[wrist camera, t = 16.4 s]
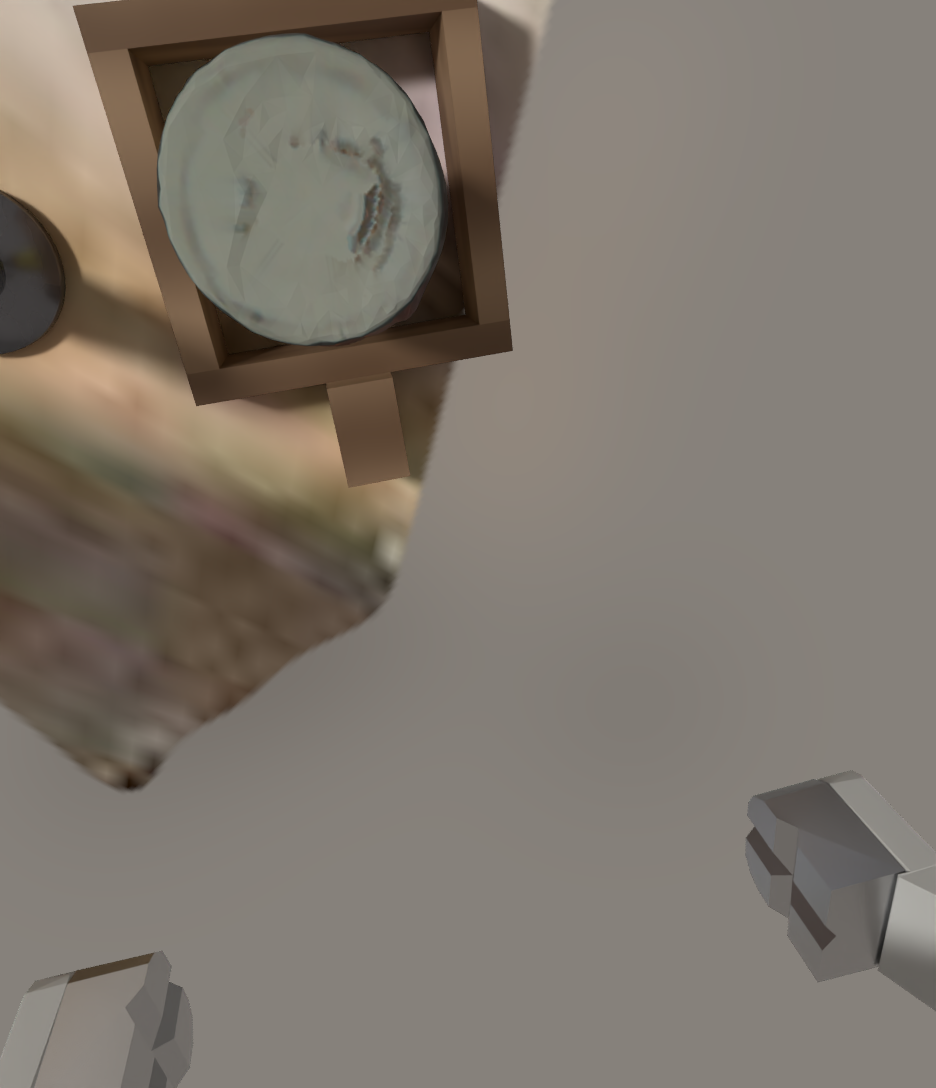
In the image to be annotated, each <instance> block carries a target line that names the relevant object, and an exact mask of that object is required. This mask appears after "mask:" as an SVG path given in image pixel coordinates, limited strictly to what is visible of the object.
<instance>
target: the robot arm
mask: <svg viewBox="0 0 936 1088" xmlns="http://www.w3.org/2000/svg"><path fill="white" fill-rule="evenodd" d="M747 816H748V817H749V819H750V820H751V822H752V823H753V824H754V826H755V827H754V828H753V830H751V832H750V833H749V834H748V836H747V837H746V858H747V862H748V866H749V870H750V873H751V875H752V878H753V880H754V882H755V884H756V887H757V888H758V891H759V892H760V894H761V895H762V897H763V898H764V900H765V902H766V903H767V905H768V906H769V907H770V908H772V909H774V910H775V911H777V912H779V913H780V914H782V915H784V916H786V917H788V937H789V939H790V941H791V942H792V944H793V945H794V947H795V948H796V950H797V951H798V953H799V954H800V956H801V957H802V959H803V960H804V962H805V963H806V965H807V967H808V968H809V970H810V971H811V973H812V974H813V976H814V977H815V979H816V980H817V982H821V981H825V980H829V979H833V978H836V977H840V976H844V975H848V974H852V973H856V972H860V971H864V970H868V969H871V968H875V967H879V968H878V971H879V972H881V973H882V974H883V975H885V976H886V977H888V978H889V979H891V980H892V981H893V982H895V983H897V984H898V985H899V986H901V987H902V988H903V989H905V990H906V991H908V992H909V993H911V994H912V995H913V996H915V997H916V998H918V999H919V1000H921V1001H922V1002H923V1003H925V1004H926V1005H928V1006H929V1007H931V1008H932V1009H933V1010H935V1011H936V852H935V850H934V849H933V848H931V846H930V845H929V844H928V843H927V842H926V841H925V840H924V839H923V838H922V837H921V836H920V835H919V834H918V833H917V832H916V831H915V830H914V829H913V828H912V827H911V826H910V825H909V824H908V823H907V822H906V821H905V820H904V819H903V818H902V817H901V815H900V814H899V813H898V812H897V811H896V810H895V809H894V808H893V807H892V806H891V805H890V804H889V803H888V802H887V801H886V800H885V799H884V798H883V797H882V796H881V795H880V794H879V793H878V792H877V791H876V790H875V789H874V788H873V787H872V786H871V785H870V784H869V783H868V782H867V781H866V779H865V778H864V777H863V776H862V775H860V774H858V773H856V772H854V771H847V772H843V773H839V774H836V775H831V776H828V777H824V778H820V779H818V780H815V779H813V780H809V781H805V782H802V783H799V784H795V785H791V786H787V787H784V788H780V789H777V790H773V791H769V792H766V793H762V794H758V795H755V796H753V797H752V798H751V799H750V801H749V803H748V813H747ZM170 972H171V965H170V963H169V961H168V960H167V958H166V956H165V954H164V953H163V951H159V952H155V953H151V954H146V955H142V956H138V957H133V958H129V959H125V960H120V961H116V962H112V963H107V964H103V965H99V966H95V967H91V968H86V969H81V970H77V971H73V972H69V973H66V974H61V975H57V976H53V977H49V978H45V979H41V980H37V981H35V982H34V983H33V985H32V986H31V987H30V988H29V990H28V991H27V992H26V994H25V995H24V997H23V999H22V1002H21V1004H20V1007H19V1010H18V1012H17V1015H16V1018H15V1020H14V1023H13V1026H12V1028H11V1031H10V1034H9V1036H8V1039H7V1042H6V1044H5V1047H4V1050H3V1052H2V1055H1V1058H0V1088H176V1087H177V1086H178V1084H179V1082H180V1081H181V1080H182V1078H183V1077H184V1075H185V1074H186V1072H187V1071H188V1069H189V1068H190V1061H191V1054H192V1046H193V1024H192V1023H193V1022H192V1013H191V1009H190V1004H189V1000H188V998H187V996H186V994H185V992H184V989H183V988H182V987H180V986H178V985H175V984H173V983H171V982H169V978H170Z"/></svg>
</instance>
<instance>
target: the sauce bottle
mask: <svg viewBox="0 0 936 1088" xmlns="http://www.w3.org/2000/svg"><path fill="white" fill-rule="evenodd" d="M157 196H158V208H159V211H160V213H161V215H162V218H163V220H164V223H165V227H166V230H167V234H168V237H169V240H170V243H171V245H172V247H173V249H174V251H175V253H176V255H177V257H178V259H179V261H180V263H181V264H182V266H183V268H184V269H185V271H186V273H187V274H188V276H189V277H190V278H191V280H192V281H193V282H194V283H195V285H196V286H197V287H198V289H199V290H200V291H201V292H202V294H203V295H204V296H205V297H207V298H208V299H209V300H210V301H211V302H212V303H213V304H214V305H215V306H217V307H218V308H219V309H220V310H221V311H222V312H224V313H225V314H227V315H228V316H229V317H231V318H232V319H234V320H235V321H237V322H238V323H240V324H241V325H243V326H244V327H245V328H247V329H248V330H250V331H251V332H254V333H256V334H259V335H261V336H264V337H266V338H268V339H271V340H275V341H279V342H283V343H287V344H292V345H301V346H344V345H349V344H351V343H355V342H357V341H361V340H363V339H364V338H366V337H369V336H373V335H376V334H379V333H381V332H383V331H385V330H386V329H388V328H389V327H390V326H392V325H394V324H395V323H398V322H400V321H405V320H407V319H408V318H409V317H410V316H411V315H412V314H413V313H414V312H415V311H416V309H417V307H418V305H419V303H420V300H421V298H422V296H423V293H424V291H425V289H426V287H427V284H428V282H429V280H430V278H431V276H432V273H433V271H434V269H435V267H436V264H437V262H438V260H439V257H440V254H441V252H442V248H443V245H444V241H445V236H446V230H447V224H448V197H447V189H446V182H445V178H444V174H443V170H442V167H441V163H440V160H439V157H438V155H437V152H436V150H435V147H434V145H433V143H432V141H431V138H430V136H429V134H428V131H427V128H426V126H425V123H424V121H423V119H422V118H421V116H420V114H419V113H418V111H417V110H416V108H415V106H414V105H413V103H412V101H411V100H410V98H409V97H408V95H407V94H406V92H405V91H404V90H403V89H402V88H401V87H400V86H399V85H398V84H397V83H396V82H395V81H394V80H393V79H392V78H391V77H390V76H389V75H388V74H387V73H386V72H384V71H383V70H382V69H381V68H379V67H378V66H377V65H375V64H373V63H372V62H370V61H368V60H367V59H365V58H364V57H363V56H361V55H360V54H358V53H356V52H354V51H351V50H349V49H347V48H345V47H343V46H341V45H339V44H337V43H334V42H330V41H327V40H323V39H320V38H317V37H314V36H312V35H309V34H305V33H287V34H277V35H269V36H264V37H260V38H256V39H253V40H249V41H245V42H242V43H239V44H237V45H235V46H232V47H230V48H227V49H225V50H223V51H222V52H221V53H220V54H218V55H217V56H216V57H215V58H213V59H212V60H211V61H210V62H208V63H207V64H205V65H204V66H202V67H200V68H199V69H197V70H196V71H195V72H194V73H193V74H192V75H191V76H190V77H189V78H188V80H187V82H186V83H185V85H184V87H183V89H182V91H181V92H180V93H179V94H178V95H177V97H176V99H175V101H174V103H173V105H172V107H171V109H170V111H169V113H168V115H167V119H166V122H165V125H164V129H163V132H162V136H161V140H160V145H159V149H158V157H157Z"/></svg>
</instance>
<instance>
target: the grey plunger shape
mask: <svg viewBox="0 0 936 1088" xmlns="http://www.w3.org/2000/svg"><path fill="white" fill-rule="evenodd" d="M64 296H65V276H64V270H63V265H62V262H61V259H60V256H59V253H58V251H57V249H56V246H55V244H54V243H53V241H52V239H51V237H50V236H49V234H48V233H47V231H46V230H45V229H44V227H43V226H42V224H41V223H40V222H39V221H38V220H37V219H36V218H35V217H34V216H33V214H32V213H30V212H29V211H28V210H27V209H26V208H25V207H24V206H23V205H21V204H20V203H19V202H17V201H16V200H14V199H13V198H12V197H10V196H8V195H7V194H5V193H3V192H1V191H0V354H4V353H8V352H12V351H16V350H18V349H21V348H23V347H26V346H28V345H30V344H32V343H33V342H35V341H37V340H38V339H40V338H41V337H42V336H44V335H45V334H46V333H47V332H48V331H49V330H50V329H51V327H52V326H53V325H54V323H55V322H56V320H57V319H58V316H59V314H60V312H61V310H62V306H63V302H64Z"/></svg>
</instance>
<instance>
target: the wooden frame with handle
mask: <svg viewBox="0 0 936 1088" xmlns="http://www.w3.org/2000/svg"><path fill="white" fill-rule="evenodd" d="M73 8H74V12H75V15H76V18H77V21H78V25H79V28H80V31H81V34H82V38H83V41H84V44H85V47H86V51H87V54H88V57H89V60H90V63H91V67H92V70H93V73H94V76H95V80H96V83H97V86H98V89H99V93H100V96H101V99H102V102H103V106H104V109H105V112H106V115H107V118H108V122H109V125H110V128H111V131H112V135H113V138H114V141H115V144H116V148H117V151H118V154H119V157H120V161H121V164H122V167H123V170H124V173H125V177H126V180H127V183H128V186H129V190H130V193H131V196H132V199H133V203H134V206H135V209H136V212H137V216H138V219H139V222H140V225H141V228H142V232H143V235H144V238H145V241H146V245H147V248H148V251H149V254H150V258H151V261H152V264H153V267H154V271H155V274H156V277H157V280H158V283H159V287H160V290H161V293H162V296H163V300H164V303H165V306H166V309H167V313H168V316H169V319H170V322H171V326H172V329H173V332H174V335H175V339H176V342H177V345H178V348H179V351H180V355H181V358H182V361H183V364H184V368H185V371H186V374H187V377H188V381H189V384H190V387H191V390H192V394H193V397H194V400H195V403H196V406H200V405H206V404H211V403H217V402H223V401H228V400H234V399H240V398H246V397H251V396H257V395H263V394H268V393H274V392H280V391H286V390H291V389H297V388H303V387H308V386H314V385H320V384H327V393H328V397H329V401H330V406H331V410H332V415H333V419H334V424H335V428H336V433H337V437H338V442H339V446H340V451H341V455H342V460H343V464H344V469H345V473H346V478H347V482H348V487H349V488H350V487H355V486H360V485H365V484H371V483H376V482H381V481H386V480H391V479H397V478H402V477H407V476H410V472H409V466H408V460H407V455H406V449H405V444H404V438H403V433H402V427H401V422H400V416H399V410H398V405H397V399H396V394H395V388H394V383H393V377H392V375H391V373H390V372H394V371H400V370H406V369H411V368H417V367H423V366H428V365H434V364H440V363H446V362H451V361H457V360H463V359H468V358H474V357H480V356H485V355H491V354H496V353H502V352H508V351H512V350H513V349H512V339H511V329H510V319H509V309H508V299H507V290H506V281H505V270H504V260H503V251H502V241H501V232H500V221H499V211H498V202H497V192H496V182H495V172H494V162H493V153H492V143H491V133H490V123H489V114H488V104H487V94H486V84H485V74H484V65H483V55H482V45H481V35H480V26H479V16H478V6H477V0H121V1H112V2H103V3H94V4H85V5H76V6H73ZM425 32H429V34H430V42H431V50H432V58H433V66H434V73H435V81H436V89H437V97H438V104H439V112H440V120H441V128H442V136H443V143H444V151H445V159H446V167H447V174H448V182H449V190H450V198H451V206H452V213H453V221H454V229H455V237H456V244H457V252H458V260H459V268H460V276H461V283H462V291H463V299H464V307H465V314H466V315H462V316H456V317H450V318H444V319H438V320H432V321H426V322H420V323H414V324H408V325H402V326H396V327H390V328H388V329H386V330H385V331H383V332H381V333H379V334H376V335H373V336H369V337H366V338H364V339H363V340H361V341H357V342H355V343H351V344H349V345H344V346H301V345H292V344H289V345H283V346H277V347H271V348H265V349H259V350H253V351H247V352H241V353H235V354H229V355H228V351H227V348H226V344H225V340H224V337H223V333H222V330H221V326H220V322H219V319H218V315H217V312H216V308H215V305H214V304H213V303H212V302H211V301H210V300H209V299H208V298H207V297H205V296H204V295H203V294H202V292H201V291H200V290H199V289H198V287H197V286H196V285H195V283H194V282H193V281H192V280H191V278H190V277H189V276H188V274H187V273H186V271H185V269H184V268H183V266H182V264H181V263H180V261H179V259H178V257H177V255H176V253H175V251H174V249H173V247H172V245H171V243H170V240H169V237H168V234H167V230H166V227H165V223H164V220H163V218H162V215H161V213H160V211H159V208H158V196H157V157H158V149H159V145H160V140H161V136H162V132H163V129H164V122H163V118H162V115H161V111H160V108H159V104H158V100H157V97H156V93H155V90H154V86H153V82H152V79H151V75H150V72H149V68H148V66H153V65H162V64H170V63H178V62H186V61H194V60H203V59H211V58H215V57H216V56H217V55H218V54H220V53H221V52H222V51H223V50H225V49H227V48H230V47H232V46H235V45H237V44H239V43H242V42H245V41H249V40H253V39H256V38H260V37H264V36H269V35H277V34H287V33H305V34H309V35H312V36H314V37H317V38H320V39H323V40H327V41H330V42H334V43H342V42H351V41H359V40H367V39H375V38H383V37H392V36H400V35H408V34H416V33H425Z"/></svg>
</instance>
